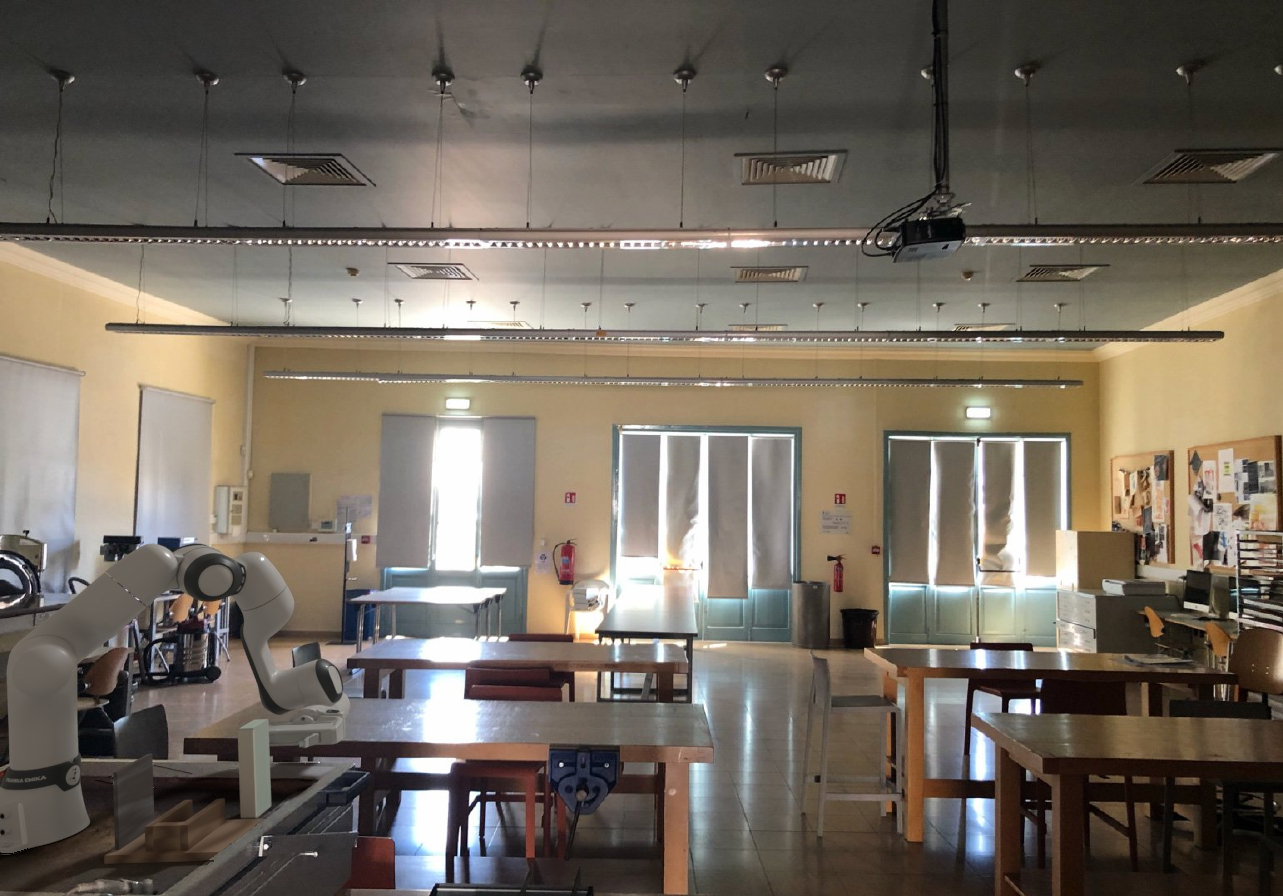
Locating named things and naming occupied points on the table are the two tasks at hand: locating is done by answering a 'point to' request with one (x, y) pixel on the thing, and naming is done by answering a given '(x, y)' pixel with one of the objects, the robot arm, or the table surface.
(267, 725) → the pale green flat block
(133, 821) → the stand
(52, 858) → the table surface
